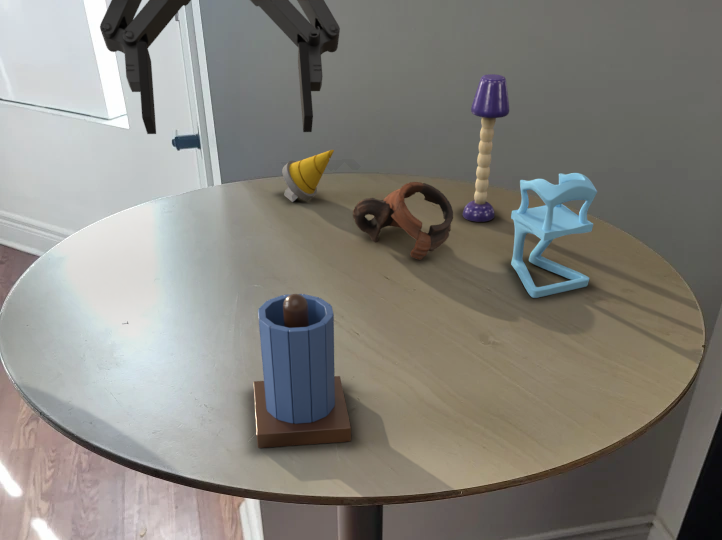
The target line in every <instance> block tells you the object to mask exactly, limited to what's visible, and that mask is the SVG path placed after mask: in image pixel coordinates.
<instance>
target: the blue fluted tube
mask: <svg viewBox="0 0 722 540" xmlns="http://www.w3.org/2000/svg"><path fill="white" fill-rule="evenodd" d="M291 294H292V293H290V294H289V293H287V294H282V295H278V296H276V297H273V298H269V299H268V300H265V301H264V302H263V304H262V305H261V306H260V307H259V308H258V310H257V315H258V316H257V317H258V328H259V339H260V351H261V363H262V375H263V381H264V387H265V398H266V410H267V411H268V412H269V413H270V414H271V415H272V416H273V417H275V418H276V419H278V420H281V421H284V422H288V423H292V424H293V423H294V424H300V423H311V422H315V421H317V420H319V419H322V418H324V417H326V416H327V415H328V414H329V413H330V412H331V410H332V409H333V408H334V405H335V379H334V376H335V317H334V316H335V315H334V311H333V306H332V305H331V304H330V303H329V302H328V301H326V300H324V299H323V298H321V297H319V296H314V295H310V294H305V293H298V294H299V295H302V296H303V297H304V298H305V299H306V301H307V303H308V317H309V326H308V327H297V328H288V327H284V314H283V303H284V300H285V299H286V298H287V297H288V296H289V295H291Z"/></svg>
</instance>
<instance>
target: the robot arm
mask: <svg viewBox="0 0 722 540" xmlns="http://www.w3.org/2000/svg"><path fill="white" fill-rule="evenodd" d="M142 1H143V0H111V1H110V2H109V5H108V7H107V9H106V11H105V14H104V16H103V17H102V20H101V23H100V25H99V28H100V32H101V35H102V38H103V40H104V43H105V46H106V49H107V50H108V51H109V52H112V53H116V52H121V53H123V54H124V61H125V62H124V63H125V64H124V65H125V78H126V80H127V83H128V87H129V88H130V90H131V92H132V93H139V94H140V106H141V107H140V108H141V118H142V122H143V125H144V128H145V131H146V134H147V135H157V127H156V125H157V124H156V110H155V109H156V108H155V96H154V80H153V67H152V59H151V55H150V51H149V48H150V47H151V45H152V44H153V43H154V41H155V40H156V39H157V38H158V37H159V35H160V34H161V33H162V32H163V31H164V30H165V28H166V27H167V26H168V25H169V23H170V22H171V21H172V20H173V18H174V17H175V16H176V15H177V14H178V12H180V11H181V9H182V8H183V6H184V7H187V6H188V5H189V4H190V2H191V1H192V0H148V1H147V2H146V3H145V4H144V6H143V7H142V8H141V9H140V11H139V12H138V10H139V7H140V6H141V3H142ZM249 1H250V2H251V3H252V4H253V5H254V6H255V7H259V8H260V9H261V10H262V11H263V12H264V13H265V14H266V15H267V16H268V18H269V19H270V20H271V21H272V22H273V23H274V24H275V25H276V26H277V27H278V28H279V29H280V30H281V32H283V33H284V35H286V37H287V38H288V39H289V40H290V41H291V42H293V44H294V45H295V46H296V47H297V50H298V51H297V69H298V82H299V83H298V84H299V95H300V107H301V109H300V110H301V121H302V132H303V133H312V131H313V121H314V120H313V119H314V110H313V99H312V98H313V97H312V96H313V95H312V92H320V91H321V89H322V85H323V65H322V64H323V63H322V55H323V54H324V53H327V52H328V53H335V52H336V51H337V50H338V48H339V40H340V39H339V38H340V33H341V28H340V25H339V23H338V21H337V19H336V18H335V16H334V15H333V12H331V10H330V8H329V6H328V5H327V2H326V1H325V0H296V1H297V3H298V4H299V6H300V8H301V10H302V11H303V14H304V15H305V16H304V15H303V14H302V12H301V11H300V10H299V9H297V7H296V6H295V5H294V4H293V3H292V2H291V1H290V0H249ZM137 12H138V13H137Z"/></svg>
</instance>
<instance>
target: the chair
mask: <svg viewBox="0 0 722 540" xmlns="http://www.w3.org/2000/svg"><path fill="white" fill-rule="evenodd" d="M519 186H520V194H521V195H520V196H521V201H520V205H519V208H518V209H513V210H512V211H511V215H510V219H511V220H513V224H514V238H513V239H514V240H513V242H514V243H513V250H512V251H513V252H512V258H511V262H510V265H511V266H512V268H513V269H514V270H515V272H516V273H517V275H518V277H519V279H520V281H521V283H522V284H523V286H524V289H525V291H526V292H527V293H528V295H529V296H530V297H531V298H533V299H538V298H542V297H547V296H551V295H555V294H560V293H565V292H568V291H572V290H578V289H581V288H586V287H588V286H589V282H590V277H589V276H587V275H585V274H583V273H582V272H580V271H577V270H576V269H575V270H574V269H573V268H570V267H568V266H565V265H563V264H561V263H558V262H556V261H553V260H551V259H548V258H547V257H544V256H543V255H542V254H543V253H544V252H545V251H546V249H547V248H548V247H549V246H550V244H551V243H552V242H553V241H554V240H555V239H558V238H561V237H563V236H564V237H565V236H570V235H578V234H586V233H591V232H592V231H593V228H594V223H593V222H591V221H590V220H588V211H589V209H590V206H591V205H592V203H593V201H594V199H595V198H596V195H597V194H598V189H596V187H595V185H594V184H593V182H592V180H591V179H590V178H589V177H588V176H586V175H585V174H584V173H583V174H582V173H580V172H572V173H567V174H565V173H562V172H561V173H558V184H553V183H551V182H549V181H548V180H546V179H544V178H535V179H531V180H525V179H520V180H519ZM528 191H533V192H534V193H536V194H537V195H538V196H539V198H540V199H541V201H543V203H544V204H543V205H540V206H536V207H529V206H530V205H529V204H530V200H529V193H528ZM571 201H572V202H573V201H584V203H583V204H582V205H581V208H580V210H579V213H578V214H577V213H576V212H574V211H573V210H571V209H570V208H568V206H566V205H564V204H563V203H567V202H571ZM528 234H530V235H533V236H534V235H535V236H536V237H537V238H538V239H540V240H539V241H538V243H537V244H536V246H535V247H533V249H532V251H531V252H530V254H529V257H528V262H529V263H531V264H533V265H534V266H537V267H539V268H541V269H543V270H545V271H548V272H551V273H553V274H556V275H558V276H560V277H563V278H566V279H568V280H566V281H561V282H556V283H551V284H547V285H542V286H537V285H536V284H535V283H534V281H533V278H532V276H531V274H530V271H529V270H528V267H527V266H526V263H525V262H524V260H523V258H524V257H523V256H524V248H525V247H524V246H525V241H526V237H527V235H528Z"/></svg>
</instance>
